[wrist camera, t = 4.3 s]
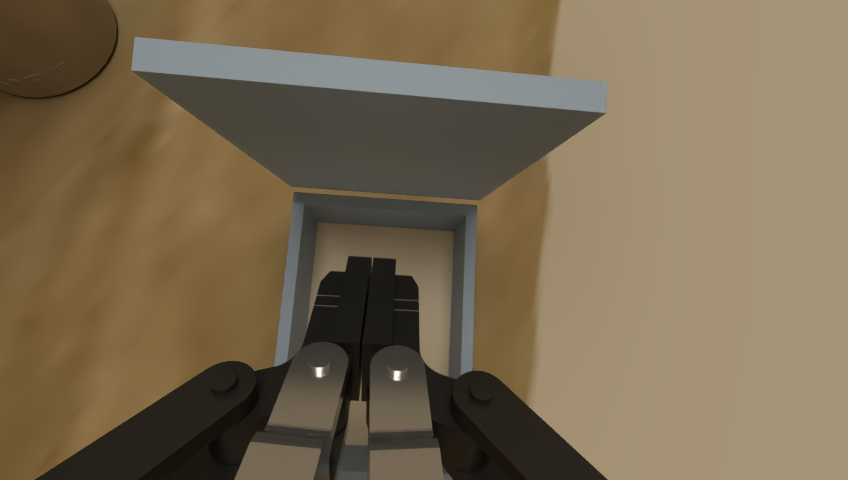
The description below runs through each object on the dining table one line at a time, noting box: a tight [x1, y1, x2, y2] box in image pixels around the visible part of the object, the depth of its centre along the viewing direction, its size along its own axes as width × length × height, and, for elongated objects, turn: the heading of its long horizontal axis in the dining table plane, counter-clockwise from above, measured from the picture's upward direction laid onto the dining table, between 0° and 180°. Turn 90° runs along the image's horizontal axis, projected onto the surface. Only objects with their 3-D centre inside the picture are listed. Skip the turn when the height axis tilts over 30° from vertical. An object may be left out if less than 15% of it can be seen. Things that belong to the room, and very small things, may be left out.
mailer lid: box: [131, 37, 608, 200], centre depth 16 cm, size 14×10×1 cm
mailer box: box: [274, 192, 477, 480], centre depth 24 cm, size 14×10×5 cm
